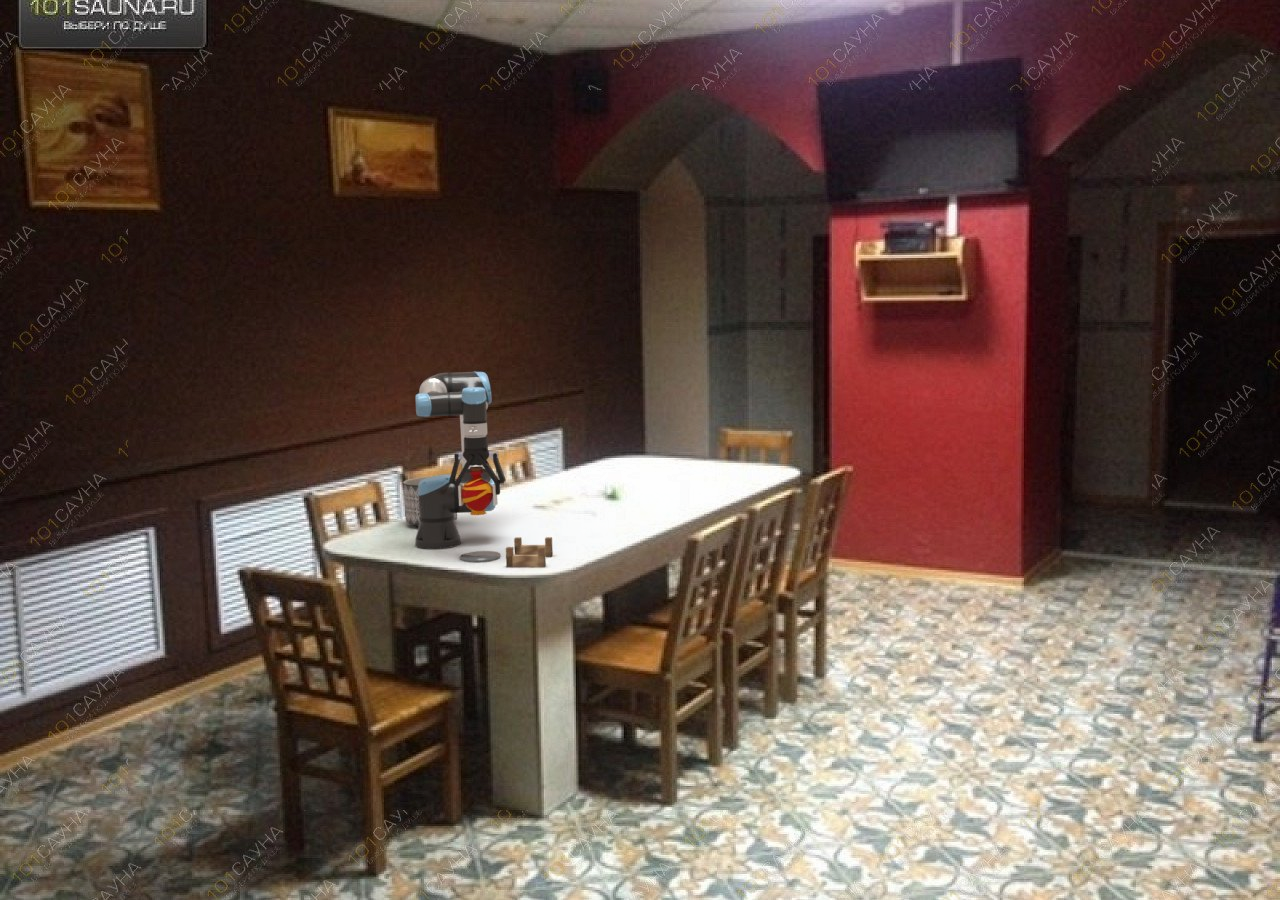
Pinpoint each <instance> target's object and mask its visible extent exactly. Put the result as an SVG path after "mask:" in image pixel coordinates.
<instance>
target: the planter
mask: <svg viewBox="0 0 1280 900" xmlns="http://www.w3.org/2000/svg"><path fill="white" fill-rule="evenodd" d="M428 477H429V476H423V477H416V478H415V477H414V478H410V479H409V478H408V479H406V480H404V481H403V482H402V483H403V495H404V496H403V497H404V498H403V499H404V510H405V521H406V523H407V524H409V525H412V526H417V527H419V524H420V518H419V496H418V484H419V482H420V481H421V480H423V479H425V478H428ZM457 519H458V513H454V521H455V522H456V520H457Z"/></svg>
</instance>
